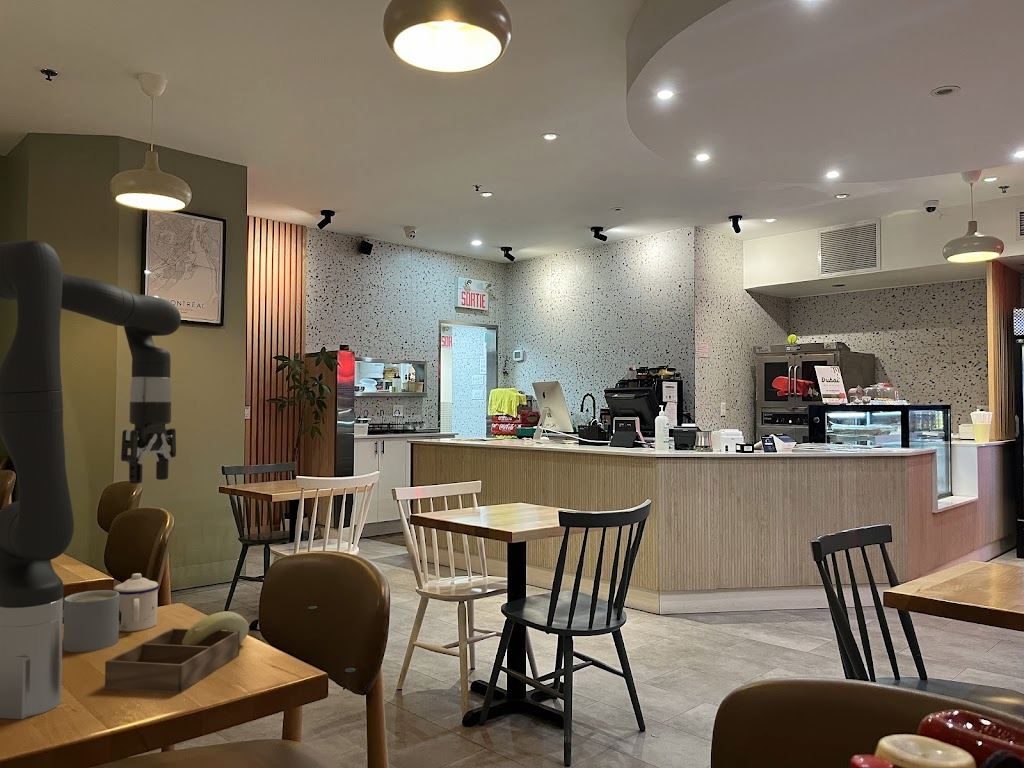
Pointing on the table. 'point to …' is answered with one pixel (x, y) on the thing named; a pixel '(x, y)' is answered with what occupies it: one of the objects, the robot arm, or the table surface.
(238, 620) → the fruit
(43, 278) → the robot arm
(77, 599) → the coffee mug
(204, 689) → the table surface
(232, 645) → the walnut crate
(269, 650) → the table surface
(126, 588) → the teacup with lid
